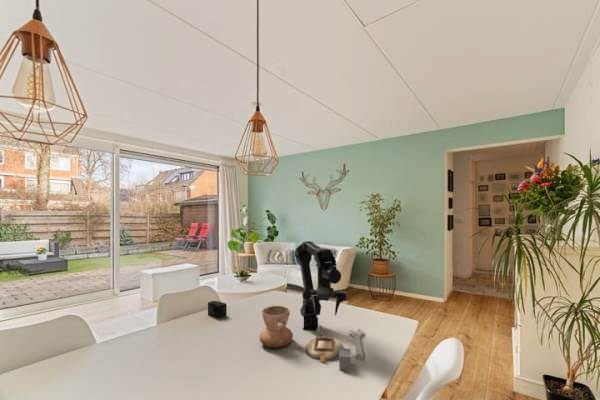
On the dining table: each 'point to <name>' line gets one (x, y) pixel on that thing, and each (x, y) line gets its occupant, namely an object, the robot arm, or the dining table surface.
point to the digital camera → (217, 309)
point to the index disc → (323, 346)
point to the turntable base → (321, 357)
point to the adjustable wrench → (357, 343)
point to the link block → (344, 359)
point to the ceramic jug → (276, 327)
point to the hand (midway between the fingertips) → (324, 314)
